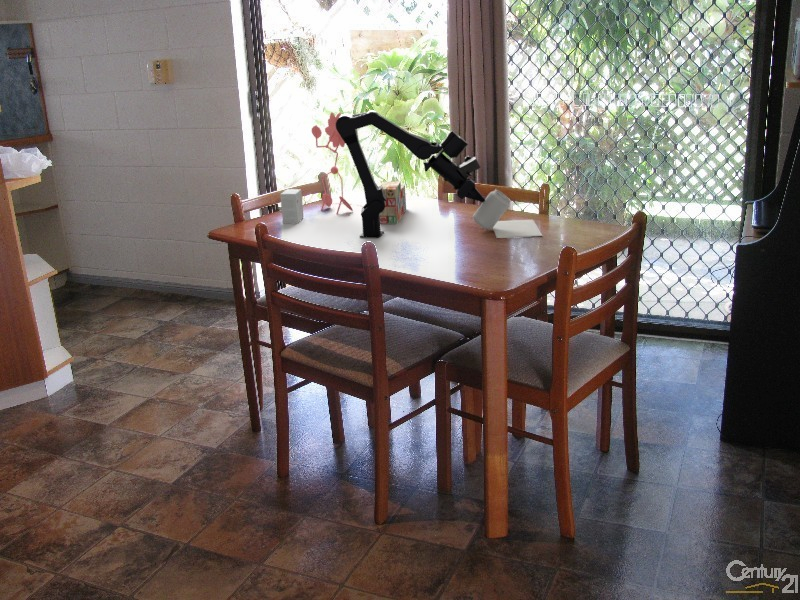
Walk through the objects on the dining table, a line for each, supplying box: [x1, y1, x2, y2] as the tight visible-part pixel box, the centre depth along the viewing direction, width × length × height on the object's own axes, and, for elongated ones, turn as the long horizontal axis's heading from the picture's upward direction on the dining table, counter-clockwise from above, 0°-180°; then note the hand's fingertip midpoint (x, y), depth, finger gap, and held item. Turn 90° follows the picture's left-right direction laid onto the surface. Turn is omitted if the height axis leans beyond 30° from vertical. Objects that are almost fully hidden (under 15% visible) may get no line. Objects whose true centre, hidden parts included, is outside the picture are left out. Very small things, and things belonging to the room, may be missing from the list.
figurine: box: [311, 112, 364, 217], centre depth 292 cm, size 15×26×35 cm, turn 43°
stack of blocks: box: [379, 180, 407, 225], centre depth 281 cm, size 21×6×12 cm, turn 171°
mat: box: [492, 219, 543, 239], centre depth 259 cm, size 14×20×1 cm
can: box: [472, 188, 512, 231], centre depth 256 cm, size 8×8×12 cm
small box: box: [279, 188, 304, 224], centre depth 282 cm, size 8×6×10 cm
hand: (483, 200), depth 256 cm, fingers closed
